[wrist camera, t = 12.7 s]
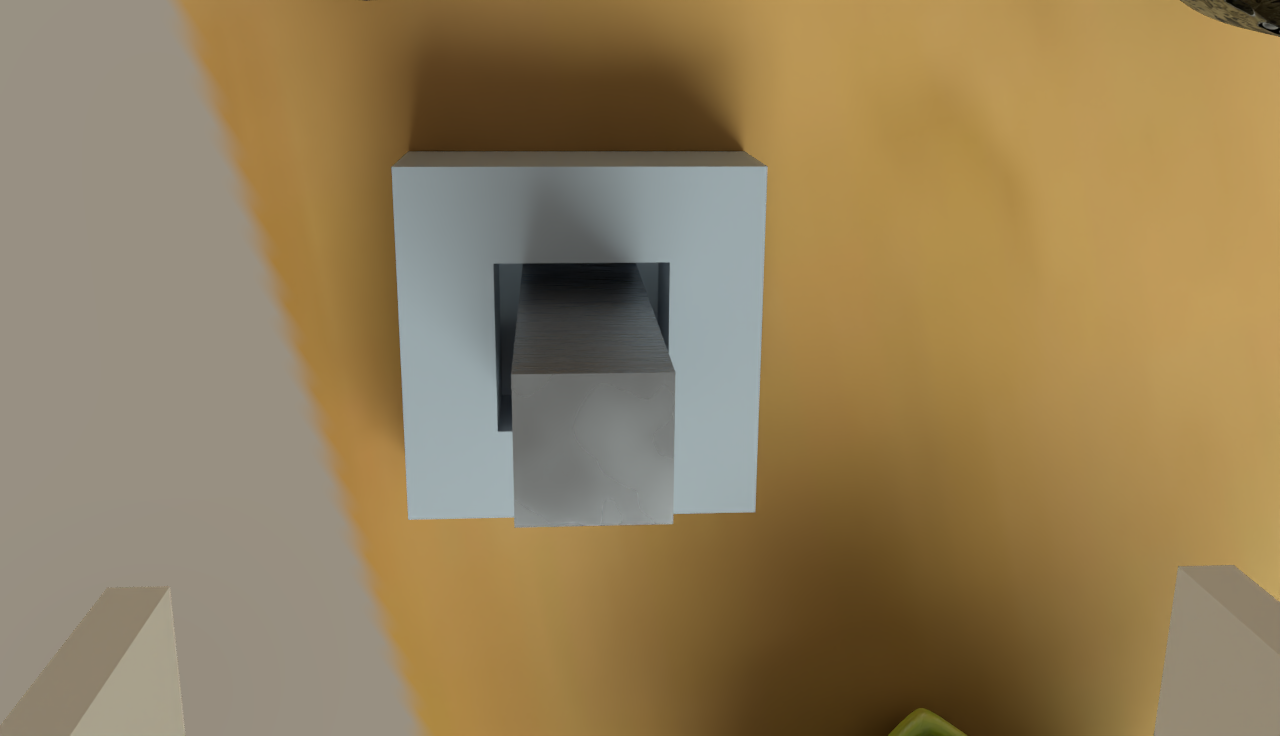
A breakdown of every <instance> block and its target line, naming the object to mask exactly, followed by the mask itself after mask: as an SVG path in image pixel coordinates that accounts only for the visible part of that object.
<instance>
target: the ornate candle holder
mask: <svg viewBox="0 0 1280 736" xmlns="http://www.w3.org/2000/svg"><path fill="white" fill-rule="evenodd" d="M1180 1H1182V2H1183V3H1185V4H1186V5H1187V6H1189V7H1190V8H1192V9H1193V10H1195V11H1197V12H1199V13H1201V14H1203V15H1205V16H1208V17H1210V18H1212V19H1215V20H1218V21H1221V22H1223V23H1226V24H1230V25H1233V26H1237V27H1240V28H1244V29H1249V30H1253V31H1257V32H1261V33H1266V34H1270V35H1274V36H1279V37H1280V0H1180Z"/></svg>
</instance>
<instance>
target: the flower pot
mask: <svg viewBox="0 0 1280 736" xmlns="http://www.w3.org/2000/svg"><path fill="white" fill-rule="evenodd" d="M888 736H968V735H966V734H965V733H963V732H962V731H960V730H959V729H957V728H956V727H955V726H953V725H952V724H950V723H949V722H947V721H946V720H944V719H943V718H941V717H940V716H938V715H937V714H935V713H933V712H931V711H930V710H928V709H925V708H918V709H916V710H915V711H913V712H912V713H911V714H909V715H908V716H907V717H906V718H905V719H904V720H903V721H901V722H900V723H899V724H898V725H897V726H896V727H895V729H894V730H893V731H892V732H891V733H890V734H889V735H888Z"/></svg>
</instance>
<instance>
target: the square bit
mask: <svg viewBox="0 0 1280 736" xmlns="http://www.w3.org/2000/svg"><path fill="white" fill-rule="evenodd" d="M511 390H512V434H513V479H514V523H515V527H559V526H605V525H650V524H673V501H674V437H675V370H674V367H673V364H672V361H671V358H670V356H669V353H668V350H667V347H666V345H665V342H664V339H663V336H662V334H661V331H660V328H659V325H658V323H657V320H656V317H655V314H654V312H653V309H652V306H651V303H650V301H649V298H648V295H647V292H646V290H645V287H644V284H643V281H642V278H641V276H640V273H639V270H638V267H637V265H636V263H550V264H523V266H522V276H521V285H520V295H519V305H518V314H517V324H516V333H515V343H514V352H513V362H512V371H511Z"/></svg>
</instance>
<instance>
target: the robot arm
mask: <svg viewBox="0 0 1280 736" xmlns="http://www.w3.org/2000/svg"><path fill="white" fill-rule="evenodd" d="M170 593H171V592H170V587H119V588H107V589H106V590H105V591H104V593H103V594H102V595H101V597H100V598H99V599H98V600H97V602H96V603H95V604H94V606H93V607H92V608H91V609H90V611H89V612H88V613H87V615H86V616H85V617H84V618H83V620H82V621H81V622H80V624H79V625H78V626H77V628H76V629H75V630H74V631H73V633H72V634H71V635H70V636H69V638H68V639H67V640H66V642H65V643H64V644H63V645H62V647H61V648H60V649H59V651H58V652H57V653H56V655H55V656H54V657H53V658H52V660H51V661H50V662H49V664H48V665H47V666H46V667H45V669H44V670H43V671H42V672H41V674H40V675H39V676H38V678H37V679H36V680H35V681H34V683H33V684H32V685H31V687H30V688H29V689H28V691H27V692H26V693H25V694H24V696H23V697H22V698H21V699H20V701H19V702H18V703H17V705H16V706H15V708H14V709H13V710H12V711H11V713H10V714H9V715H8V716H7V718H6V719H5V720H4V721H3V723H2V724H1V725H0V736H185V727H184V718H183V708H182V698H181V689H180V679H179V669H178V661H177V650H176V641H175V631H174V621H173V613H172V602H171V594H170ZM1154 736H1280V602H1279V601H1277V600H1276V599H1275V598H1274V597H1273V596H1271V595H1270V594H1269V593H1268V592H1266V591H1265V590H1264V589H1263V588H1261V587H1260V586H1259V585H1258V584H1256V583H1255V582H1254V581H1253V580H1251V579H1250V578H1249V577H1248V576H1246V575H1245V574H1244V573H1243V572H1242V571H1240V570H1239V569H1238V568H1237V567H1235V566H1234V565H1220V566H1178V572H1177V579H1176V586H1175V593H1174V600H1173V607H1172V614H1171V621H1170V628H1169V634H1168V641H1167V648H1166V655H1165V662H1164V669H1163V676H1162V683H1161V690H1160V697H1159V703H1158V710H1157V717H1156V724H1155V731H1154Z"/></svg>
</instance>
